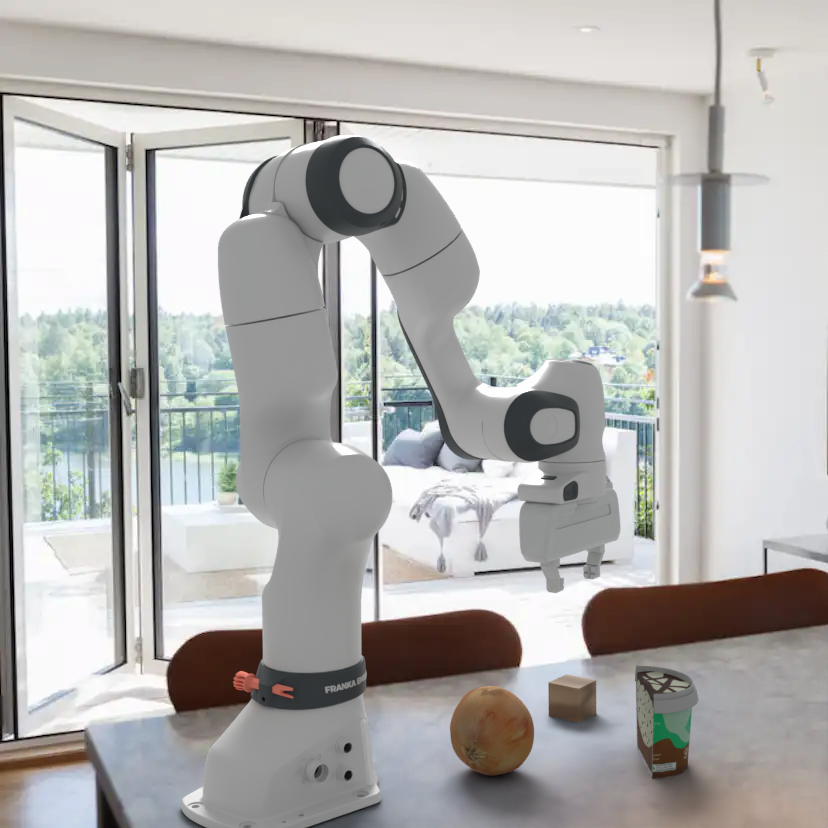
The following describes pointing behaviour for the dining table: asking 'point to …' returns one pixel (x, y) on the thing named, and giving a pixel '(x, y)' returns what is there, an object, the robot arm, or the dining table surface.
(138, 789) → the dining table surface
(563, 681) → the walnut block
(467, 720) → the onion
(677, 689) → the food container
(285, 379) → the robot arm
